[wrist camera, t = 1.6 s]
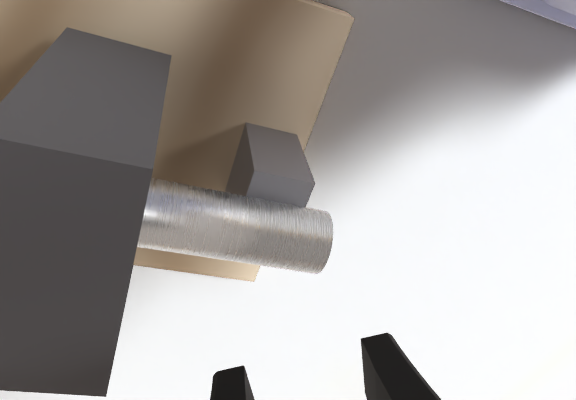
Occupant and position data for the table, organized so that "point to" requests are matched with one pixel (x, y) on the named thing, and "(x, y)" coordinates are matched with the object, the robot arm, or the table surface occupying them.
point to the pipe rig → (215, 121)
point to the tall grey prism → (73, 207)
